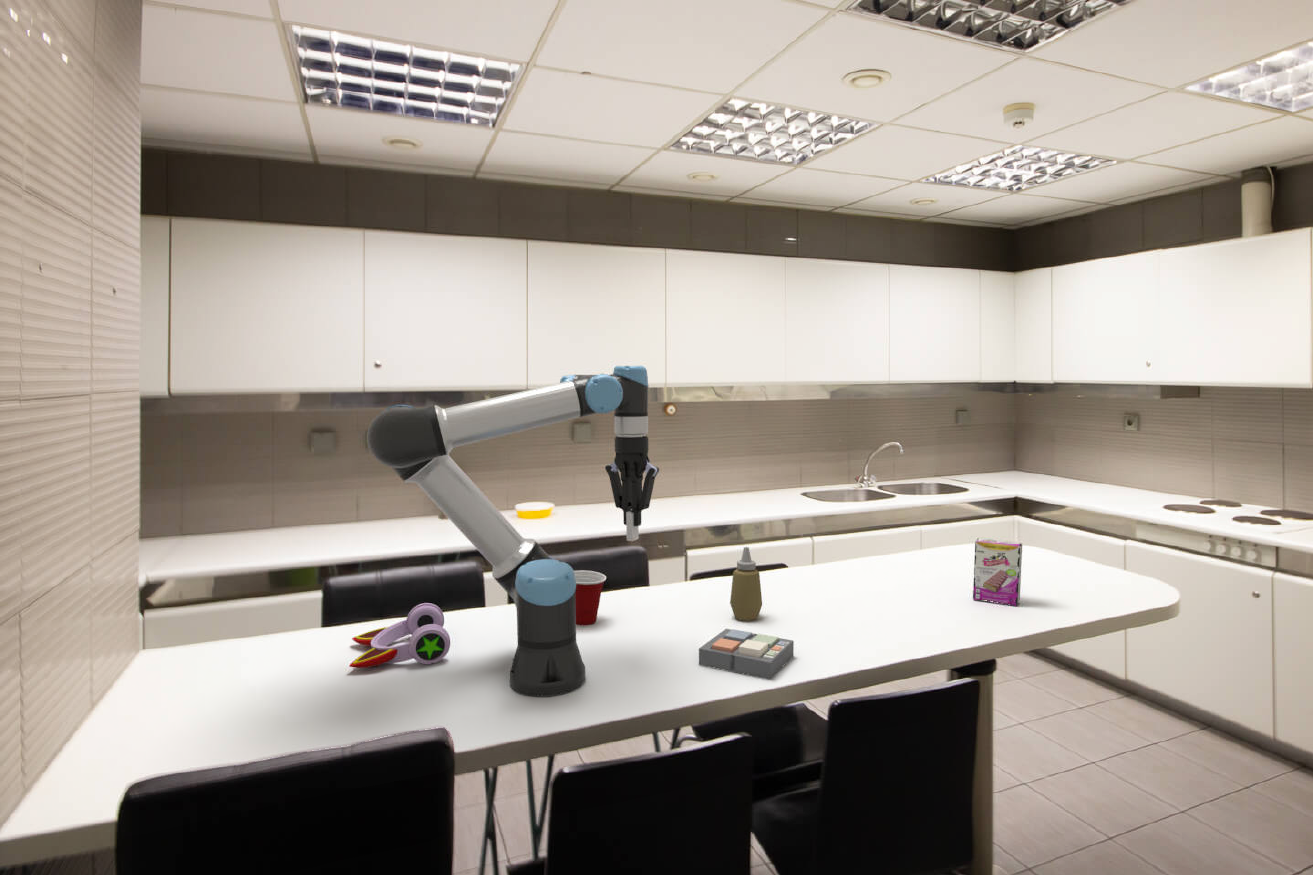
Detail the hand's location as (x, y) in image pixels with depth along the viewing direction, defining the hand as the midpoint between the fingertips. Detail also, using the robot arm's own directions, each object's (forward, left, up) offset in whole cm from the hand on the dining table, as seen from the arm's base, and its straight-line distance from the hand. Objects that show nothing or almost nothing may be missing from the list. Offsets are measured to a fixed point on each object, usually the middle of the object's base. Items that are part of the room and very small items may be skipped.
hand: (632, 539), depth 164 cm
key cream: (+1, -29, -22) cm, 37 cm away
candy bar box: (+74, -69, -25) cm, 104 cm away
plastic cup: (+8, +19, -25) cm, 32 cm away
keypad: (+4, -26, -24) cm, 36 cm away
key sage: (+7, -29, -23) cm, 38 cm away
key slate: (+7, -23, -23) cm, 33 cm away
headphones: (-29, +43, -25) cm, 58 cm away
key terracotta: (+1, -23, -23) cm, 32 cm away
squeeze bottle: (+30, -15, -25) cm, 42 cm away
